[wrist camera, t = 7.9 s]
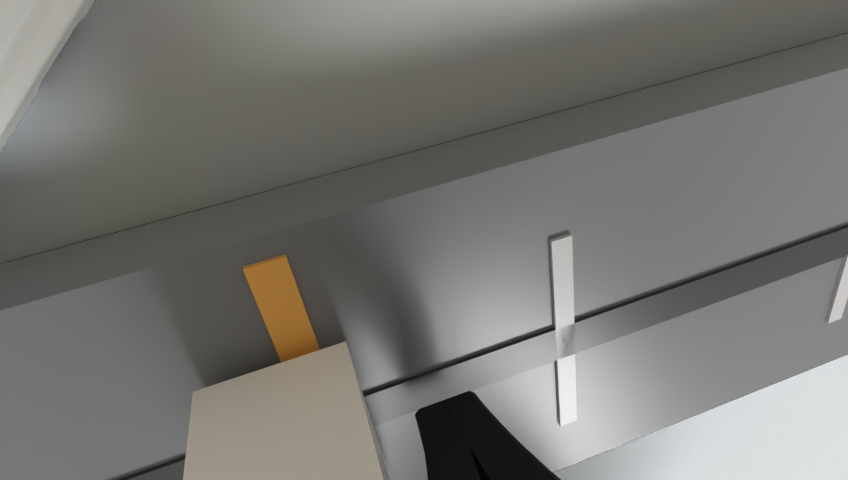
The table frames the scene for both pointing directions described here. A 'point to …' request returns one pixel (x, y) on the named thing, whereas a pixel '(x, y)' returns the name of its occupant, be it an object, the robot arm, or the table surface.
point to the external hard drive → (31, 51)
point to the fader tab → (286, 424)
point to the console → (467, 281)
